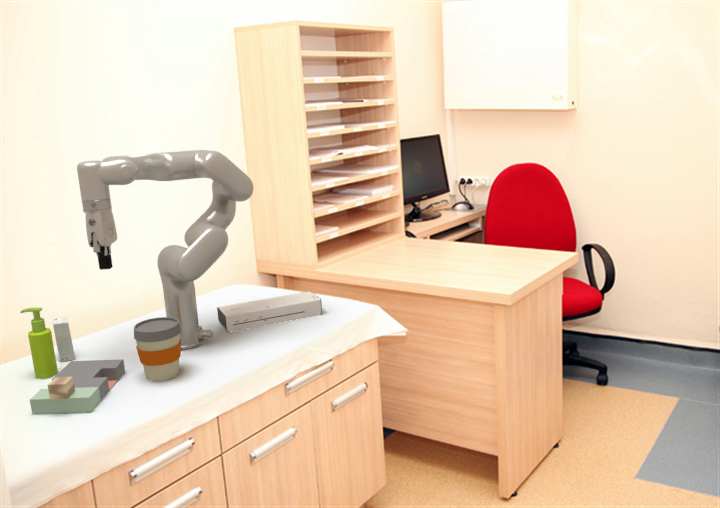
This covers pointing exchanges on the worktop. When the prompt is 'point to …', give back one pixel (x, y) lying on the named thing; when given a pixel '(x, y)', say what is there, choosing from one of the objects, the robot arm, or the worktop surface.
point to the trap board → (81, 387)
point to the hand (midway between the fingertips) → (106, 268)
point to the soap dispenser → (41, 346)
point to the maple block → (61, 388)
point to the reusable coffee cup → (159, 347)
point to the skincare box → (63, 339)
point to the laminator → (269, 311)
